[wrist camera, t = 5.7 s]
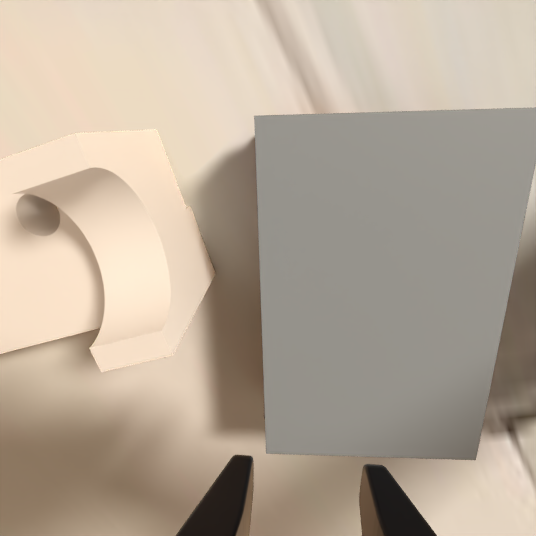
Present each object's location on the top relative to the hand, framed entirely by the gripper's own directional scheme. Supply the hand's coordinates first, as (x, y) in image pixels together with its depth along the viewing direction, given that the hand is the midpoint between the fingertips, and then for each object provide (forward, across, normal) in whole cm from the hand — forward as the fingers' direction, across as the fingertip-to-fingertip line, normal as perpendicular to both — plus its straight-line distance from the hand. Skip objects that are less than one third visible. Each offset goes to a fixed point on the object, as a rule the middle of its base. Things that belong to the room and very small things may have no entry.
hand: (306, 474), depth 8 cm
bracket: (+12, +12, -1) cm, 17 cm away
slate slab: (+10, -3, 0) cm, 10 cm away
